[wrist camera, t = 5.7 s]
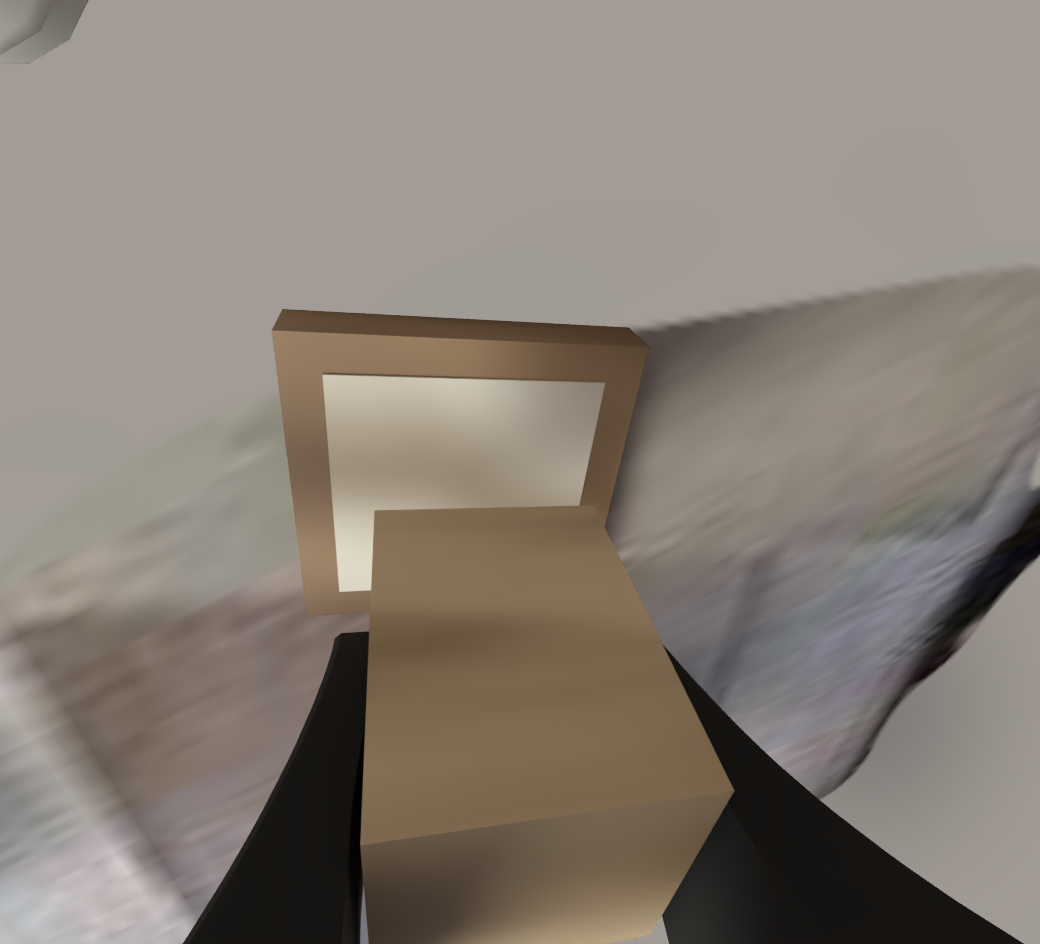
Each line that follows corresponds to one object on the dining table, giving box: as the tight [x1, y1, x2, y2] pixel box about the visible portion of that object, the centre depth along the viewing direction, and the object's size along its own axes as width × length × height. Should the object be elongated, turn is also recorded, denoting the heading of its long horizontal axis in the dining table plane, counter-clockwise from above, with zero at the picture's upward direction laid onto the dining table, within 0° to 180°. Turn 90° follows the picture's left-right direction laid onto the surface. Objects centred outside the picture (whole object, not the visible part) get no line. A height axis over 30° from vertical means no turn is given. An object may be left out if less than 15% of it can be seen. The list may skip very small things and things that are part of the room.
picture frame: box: [272, 309, 649, 616], centre depth 16 cm, size 9×9×2 cm
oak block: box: [360, 505, 734, 944], centre depth 10 cm, size 4×4×6 cm
